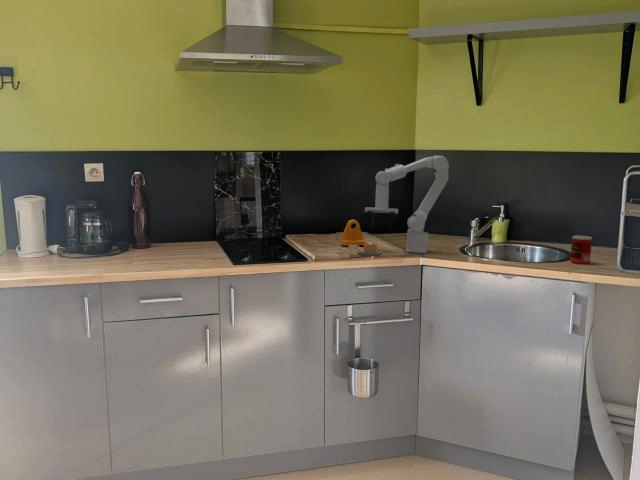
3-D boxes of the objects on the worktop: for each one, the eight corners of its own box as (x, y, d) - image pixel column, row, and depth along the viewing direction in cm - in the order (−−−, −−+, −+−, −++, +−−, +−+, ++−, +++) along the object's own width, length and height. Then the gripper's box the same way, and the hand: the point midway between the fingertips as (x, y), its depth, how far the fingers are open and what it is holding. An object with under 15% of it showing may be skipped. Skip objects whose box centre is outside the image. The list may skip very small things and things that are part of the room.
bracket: (342, 247, 284) (343, 221, 282) (340, 244, 291) (341, 219, 289) (365, 247, 285) (366, 221, 283) (363, 244, 292) (364, 219, 290)
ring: (376, 250, 269) (377, 243, 269) (375, 252, 264) (375, 244, 264) (365, 250, 271) (365, 242, 270) (363, 252, 266) (363, 244, 265)
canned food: (589, 262, 260) (592, 236, 258) (589, 265, 252) (592, 238, 251) (570, 260, 263) (572, 234, 261) (569, 263, 255) (571, 237, 254)
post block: (381, 252, 271) (382, 241, 270) (378, 256, 262) (379, 244, 261) (361, 251, 273) (361, 240, 272) (357, 254, 264) (358, 243, 263)
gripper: (364, 198, 270) (363, 229, 272) (397, 199, 267) (396, 230, 269) (366, 197, 277) (365, 227, 279) (399, 198, 274) (397, 228, 276)
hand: (380, 228), depth 274 cm, fingers open, 7 cm apart
